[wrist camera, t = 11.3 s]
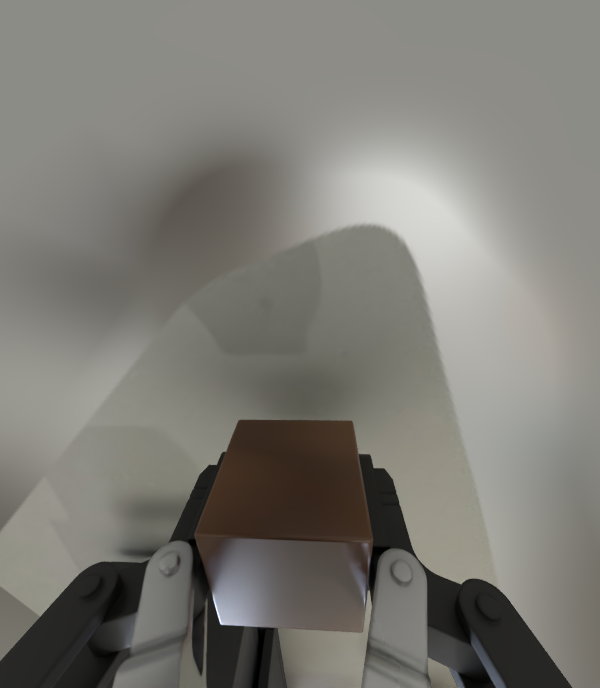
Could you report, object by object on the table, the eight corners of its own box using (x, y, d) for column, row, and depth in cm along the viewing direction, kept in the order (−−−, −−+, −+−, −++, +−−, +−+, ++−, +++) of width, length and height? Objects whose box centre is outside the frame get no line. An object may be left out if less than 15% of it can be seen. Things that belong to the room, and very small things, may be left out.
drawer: (88, 517, 20) (-39, 680, 13) (247, 522, 19) (203, 700, 12) (157, 652, 28) (101, 802, 21) (273, 660, 27) (255, 820, 20)
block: (250, 497, 13) (219, 626, 9) (237, 418, 11) (192, 534, 7) (349, 500, 13) (363, 633, 9) (352, 419, 11) (374, 541, 7)
